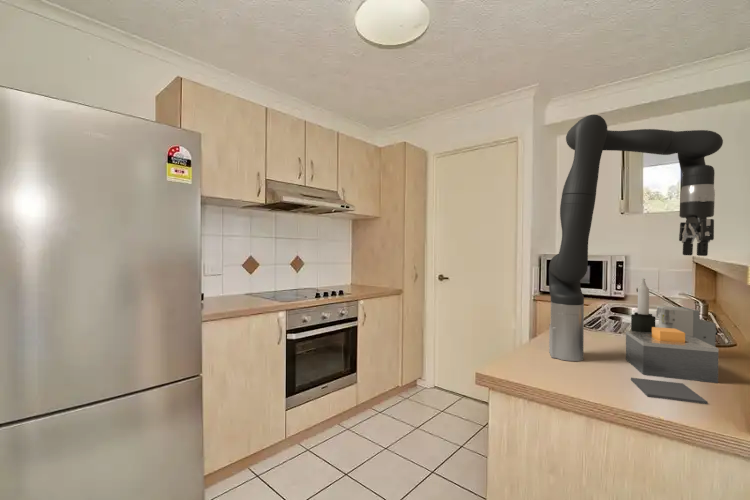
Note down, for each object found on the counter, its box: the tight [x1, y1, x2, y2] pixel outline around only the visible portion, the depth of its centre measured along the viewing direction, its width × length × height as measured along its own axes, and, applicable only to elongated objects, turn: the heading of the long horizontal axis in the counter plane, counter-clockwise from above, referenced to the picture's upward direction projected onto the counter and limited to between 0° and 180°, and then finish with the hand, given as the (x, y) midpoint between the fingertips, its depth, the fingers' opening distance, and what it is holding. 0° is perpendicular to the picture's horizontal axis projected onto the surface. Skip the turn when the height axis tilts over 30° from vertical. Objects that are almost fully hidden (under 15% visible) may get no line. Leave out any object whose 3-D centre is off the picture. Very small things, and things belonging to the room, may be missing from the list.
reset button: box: [652, 326, 685, 343], centre depth 98 cm, size 6×6×7 cm
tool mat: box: [630, 377, 708, 405], centre depth 83 cm, size 11×11×1 cm
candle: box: [630, 277, 656, 333], centre depth 112 cm, size 5×5×25 cm
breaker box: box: [625, 330, 719, 384], centre depth 98 cm, size 16×14×9 cm
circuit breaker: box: [655, 305, 718, 347], centre depth 113 cm, size 8×14×15 cm, turn 78°
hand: (694, 255), depth 102 cm, fingers open, 8 cm apart
